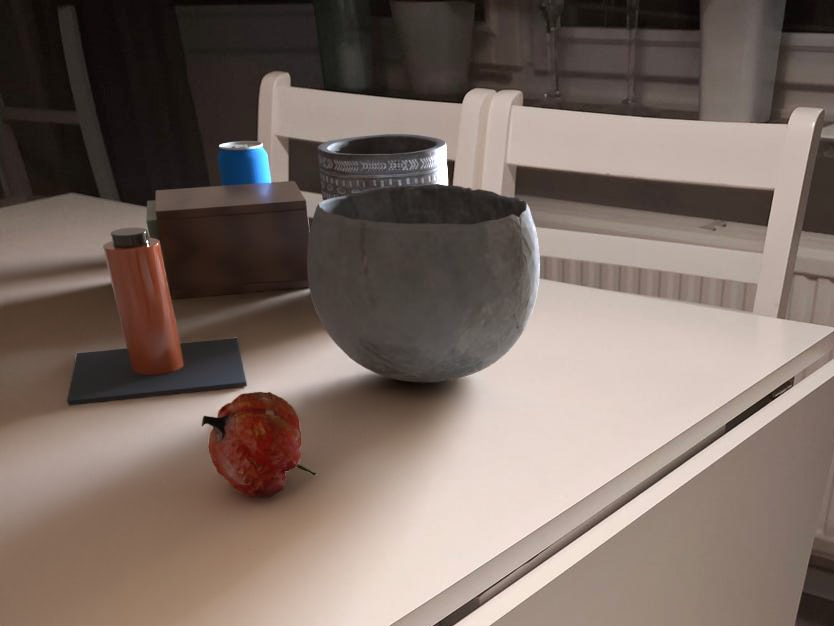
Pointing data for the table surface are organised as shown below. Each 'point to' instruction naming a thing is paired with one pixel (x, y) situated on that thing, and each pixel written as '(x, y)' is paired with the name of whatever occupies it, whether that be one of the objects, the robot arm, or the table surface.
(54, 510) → the table surface
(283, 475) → the pomegranate
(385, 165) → the planter
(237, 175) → the beverage can
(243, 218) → the cabinet
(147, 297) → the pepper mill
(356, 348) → the bowl
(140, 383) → the mat
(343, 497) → the table surface
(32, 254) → the table surface
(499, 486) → the table surface
